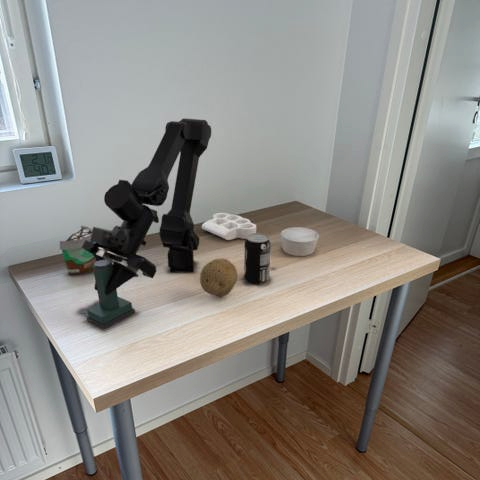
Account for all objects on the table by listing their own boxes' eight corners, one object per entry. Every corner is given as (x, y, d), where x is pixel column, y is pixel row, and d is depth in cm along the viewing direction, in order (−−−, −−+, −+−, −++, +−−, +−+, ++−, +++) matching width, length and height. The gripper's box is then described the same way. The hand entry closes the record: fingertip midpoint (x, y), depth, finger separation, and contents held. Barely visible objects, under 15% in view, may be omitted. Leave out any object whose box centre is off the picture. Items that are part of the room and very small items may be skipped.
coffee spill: (102, 299, 113) (102, 299, 113) (117, 306, 111) (117, 306, 111) (77, 311, 109) (77, 311, 108) (92, 319, 106) (92, 319, 106)
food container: (87, 279, 122) (80, 244, 117) (65, 277, 123) (58, 241, 118) (107, 260, 133) (102, 226, 127) (87, 258, 134) (81, 224, 128)
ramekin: (313, 260, 134) (314, 243, 131) (275, 255, 137) (276, 238, 134) (320, 246, 143) (322, 229, 140) (284, 241, 146) (285, 225, 143)
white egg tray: (195, 229, 153) (229, 219, 162) (231, 245, 142) (265, 233, 150) (195, 219, 152) (229, 209, 160) (231, 234, 140) (266, 223, 149)
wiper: (118, 305, 111) (110, 253, 104) (135, 312, 108) (127, 259, 101) (87, 320, 105) (75, 266, 98) (103, 329, 102) (93, 273, 95)
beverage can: (243, 274, 126) (243, 232, 119) (267, 274, 126) (269, 232, 120) (245, 286, 120) (246, 242, 114) (270, 285, 121) (272, 241, 114)
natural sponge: (223, 310, 110) (223, 271, 104) (193, 299, 114) (191, 262, 108) (243, 294, 116) (244, 257, 111) (214, 285, 120) (213, 249, 115)
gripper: (81, 203, 102) (47, 265, 100) (140, 220, 92) (104, 290, 90) (114, 228, 111) (83, 285, 109) (171, 246, 102) (138, 309, 100)
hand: (100, 292), depth 102 cm, fingers closed on wiper, 3 cm apart
